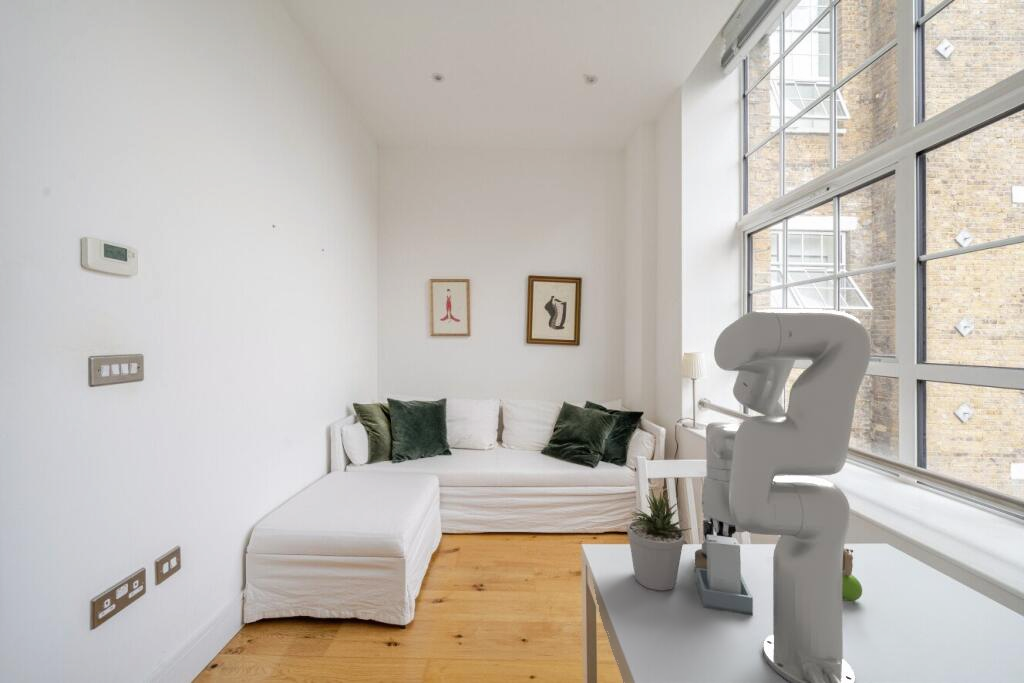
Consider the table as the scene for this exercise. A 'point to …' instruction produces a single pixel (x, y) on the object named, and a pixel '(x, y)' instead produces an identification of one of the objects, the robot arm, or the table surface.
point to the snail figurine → (849, 579)
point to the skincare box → (723, 564)
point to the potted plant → (656, 546)
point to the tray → (723, 596)
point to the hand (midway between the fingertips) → (724, 549)
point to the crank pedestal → (700, 560)
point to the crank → (707, 530)
